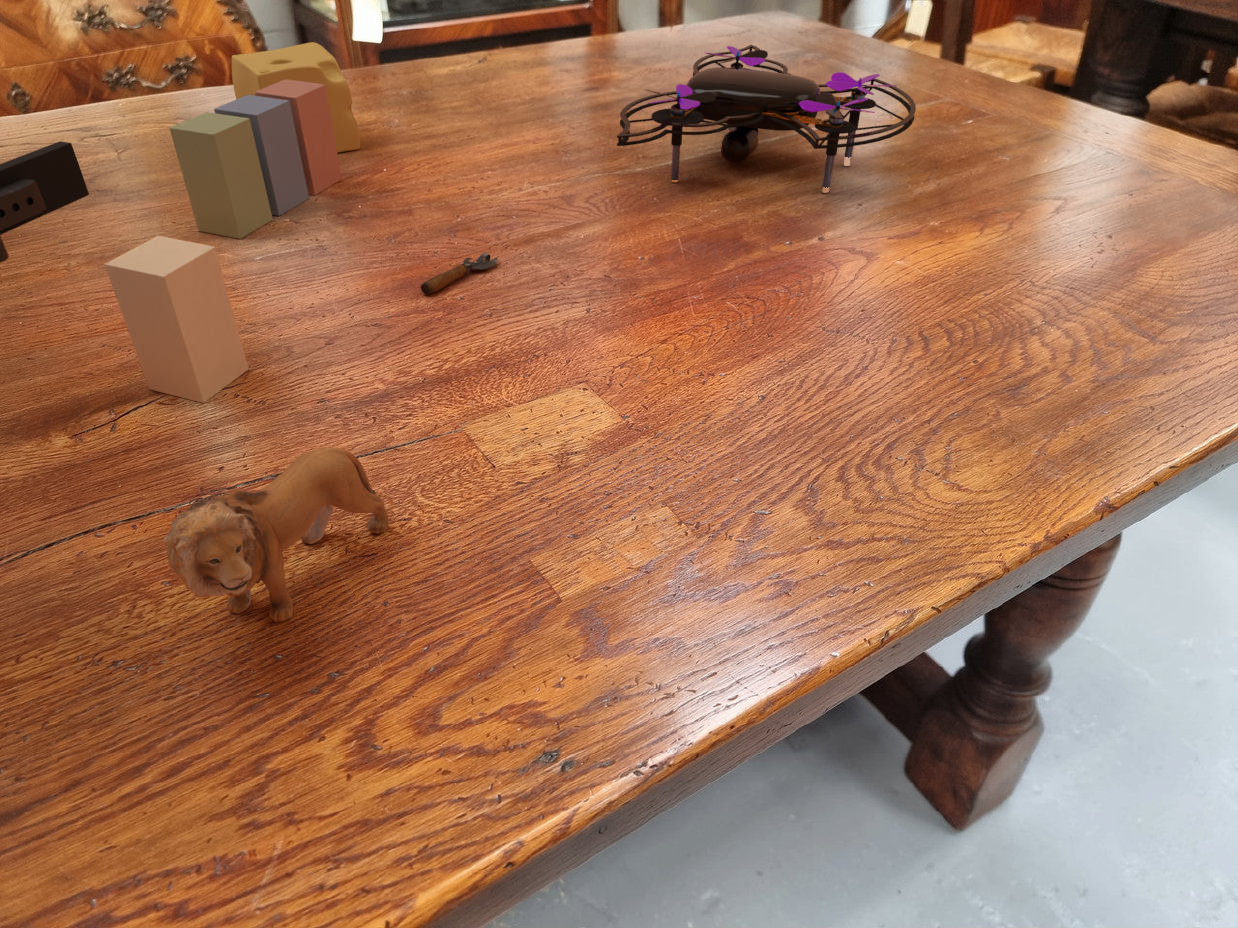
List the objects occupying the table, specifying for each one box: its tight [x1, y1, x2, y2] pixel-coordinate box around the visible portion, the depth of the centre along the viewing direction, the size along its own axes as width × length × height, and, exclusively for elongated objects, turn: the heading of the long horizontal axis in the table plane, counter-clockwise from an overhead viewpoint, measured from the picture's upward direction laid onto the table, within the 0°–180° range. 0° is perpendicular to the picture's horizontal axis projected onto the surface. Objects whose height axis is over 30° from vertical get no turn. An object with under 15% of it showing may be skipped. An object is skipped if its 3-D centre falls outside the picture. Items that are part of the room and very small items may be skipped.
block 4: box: [255, 79, 343, 196], centre depth 97 cm, size 5×5×10 cm
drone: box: [616, 44, 917, 188], centre depth 102 cm, size 40×10×28 cm
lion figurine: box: [163, 447, 389, 623], centre depth 50 cm, size 15×5×9 cm, turn 160°
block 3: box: [213, 95, 310, 217], centre depth 93 cm, size 5×5×10 cm
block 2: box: [104, 235, 249, 404], centre depth 66 cm, size 5×5×10 cm
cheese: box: [231, 41, 361, 153], centre depth 107 cm, size 10×11×10 cm
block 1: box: [169, 111, 274, 240], centre depth 88 cm, size 5×5×10 cm
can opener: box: [420, 251, 499, 296], centre depth 82 cm, size 9×2×1 cm, turn 140°
